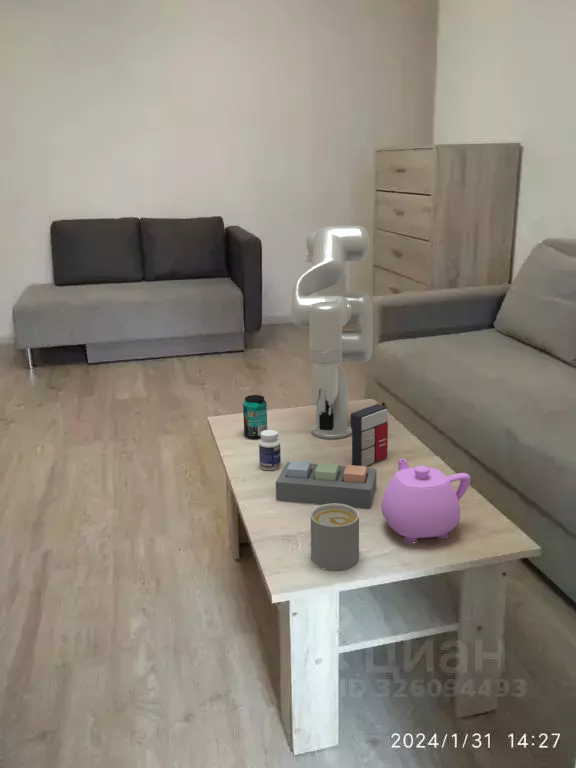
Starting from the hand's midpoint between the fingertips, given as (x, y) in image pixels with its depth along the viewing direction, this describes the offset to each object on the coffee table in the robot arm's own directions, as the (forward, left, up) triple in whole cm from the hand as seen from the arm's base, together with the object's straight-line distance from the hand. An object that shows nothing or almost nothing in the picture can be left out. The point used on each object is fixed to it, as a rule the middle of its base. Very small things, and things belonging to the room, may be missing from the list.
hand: (326, 428), depth 170 cm
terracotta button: (0, +7, -15) cm, 17 cm away
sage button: (0, 0, -15) cm, 15 cm away
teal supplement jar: (-34, -28, -18) cm, 47 cm away
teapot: (+11, +24, -18) cm, 32 cm away
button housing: (0, 0, -17) cm, 17 cm away
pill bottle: (-13, -18, -18) cm, 28 cm away
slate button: (0, -7, -15) cm, 17 cm away
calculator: (-21, +8, -18) cm, 28 cm away
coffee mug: (+27, +6, -18) cm, 33 cm away
